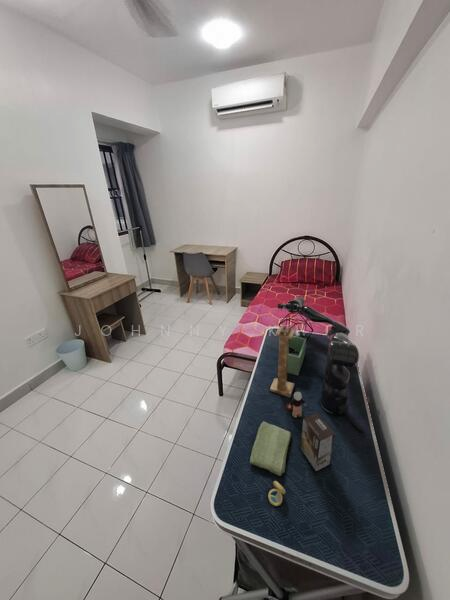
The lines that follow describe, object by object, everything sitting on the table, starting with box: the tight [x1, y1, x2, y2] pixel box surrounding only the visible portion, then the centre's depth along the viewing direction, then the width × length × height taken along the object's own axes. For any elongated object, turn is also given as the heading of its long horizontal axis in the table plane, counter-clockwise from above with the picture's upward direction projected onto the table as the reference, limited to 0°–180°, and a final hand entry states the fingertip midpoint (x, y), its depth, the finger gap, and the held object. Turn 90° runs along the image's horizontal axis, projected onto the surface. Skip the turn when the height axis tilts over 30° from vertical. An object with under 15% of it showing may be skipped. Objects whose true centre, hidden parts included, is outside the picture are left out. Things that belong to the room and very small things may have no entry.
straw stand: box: [269, 324, 296, 398], centre depth 110 cm, size 10×8×35 cm
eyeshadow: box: [267, 480, 287, 507], centre depth 76 cm, size 4×5×5 cm
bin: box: [287, 335, 307, 376], centre depth 131 cm, size 11×18×12 cm, turn 153°
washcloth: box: [249, 421, 292, 477], centre depth 90 cm, size 13×18×3 cm
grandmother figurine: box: [288, 391, 307, 418], centre depth 101 cm, size 8×4×13 cm, turn 109°
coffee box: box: [300, 412, 336, 472], centre depth 84 cm, size 9×6×16 cm
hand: (289, 307), depth 126 cm, fingers open, 8 cm apart
